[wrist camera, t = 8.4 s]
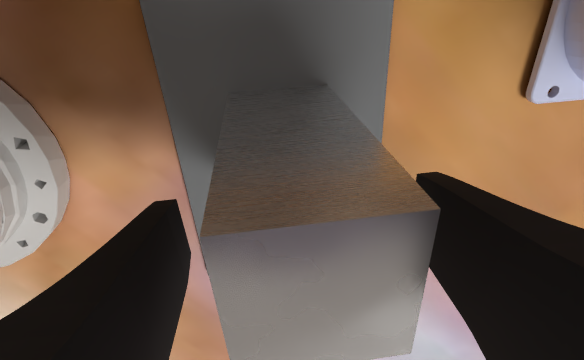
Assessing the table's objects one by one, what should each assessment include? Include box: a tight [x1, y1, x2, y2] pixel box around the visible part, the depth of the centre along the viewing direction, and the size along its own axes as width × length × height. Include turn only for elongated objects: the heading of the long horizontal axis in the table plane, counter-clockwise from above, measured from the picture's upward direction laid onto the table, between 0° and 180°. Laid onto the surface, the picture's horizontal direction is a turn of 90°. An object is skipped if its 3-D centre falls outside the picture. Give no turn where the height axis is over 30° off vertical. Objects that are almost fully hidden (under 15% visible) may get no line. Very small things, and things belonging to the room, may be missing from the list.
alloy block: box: [199, 84, 441, 360], centre depth 10 cm, size 4×4×9 cm
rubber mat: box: [139, 0, 394, 275], centre depth 15 cm, size 9×14×1 cm, turn 3°
